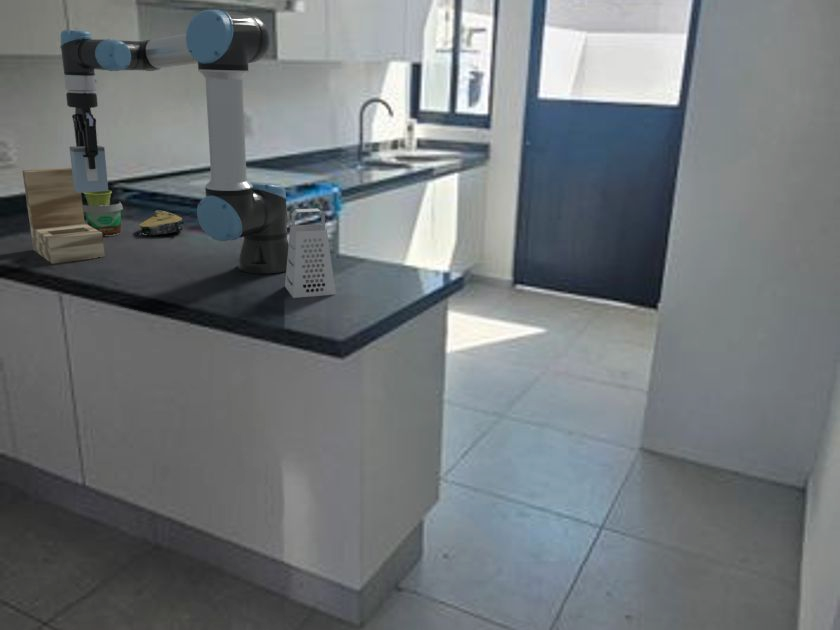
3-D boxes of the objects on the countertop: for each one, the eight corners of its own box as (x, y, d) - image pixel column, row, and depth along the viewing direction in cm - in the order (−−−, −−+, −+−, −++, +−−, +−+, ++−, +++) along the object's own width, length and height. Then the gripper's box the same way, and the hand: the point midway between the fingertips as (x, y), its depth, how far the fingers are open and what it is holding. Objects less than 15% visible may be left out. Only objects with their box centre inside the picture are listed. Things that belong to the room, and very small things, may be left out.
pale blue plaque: (108, 190, 212) (104, 147, 208) (78, 192, 207) (73, 148, 204) (103, 188, 215) (99, 145, 211) (74, 190, 210) (69, 146, 206)
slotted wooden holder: (104, 256, 215) (95, 175, 208) (52, 263, 207) (40, 179, 200) (83, 243, 230) (74, 167, 223) (33, 249, 221) (22, 170, 214)
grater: (335, 294, 185) (334, 213, 179) (293, 297, 181) (290, 215, 175) (325, 283, 194) (324, 205, 188) (284, 286, 191) (282, 207, 184)
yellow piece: (186, 202, 266) (179, 218, 239) (190, 218, 268) (184, 236, 241) (145, 209, 264) (133, 226, 236) (149, 225, 266) (138, 244, 238)
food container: (92, 239, 236) (88, 207, 233) (85, 236, 240) (81, 204, 237) (131, 234, 244) (128, 203, 240) (124, 231, 248) (121, 201, 245)
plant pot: (119, 214, 275) (117, 190, 272) (103, 219, 266) (101, 194, 264) (97, 213, 277) (94, 189, 274) (80, 217, 268) (77, 193, 266)
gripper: (105, 93, 199) (113, 183, 206) (86, 90, 211) (94, 174, 219) (75, 93, 194) (84, 184, 202) (57, 90, 207) (67, 176, 214)
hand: (90, 179), depth 210 cm, fingers closed on pale blue plaque, 4 cm apart
